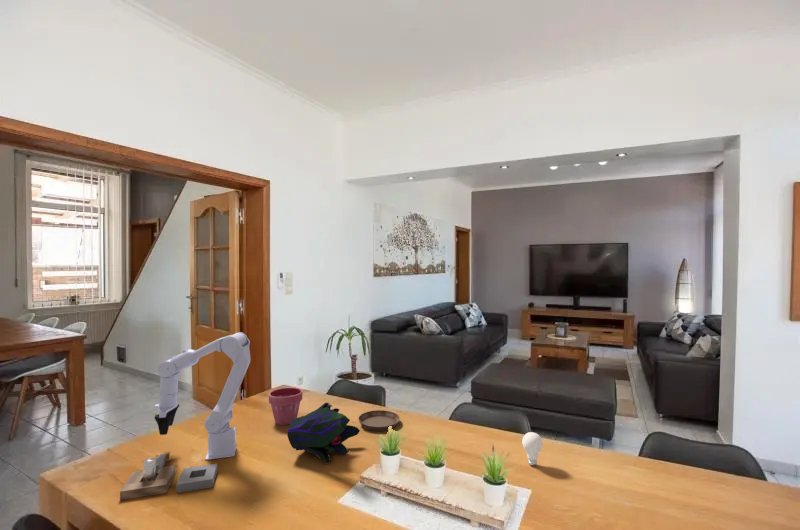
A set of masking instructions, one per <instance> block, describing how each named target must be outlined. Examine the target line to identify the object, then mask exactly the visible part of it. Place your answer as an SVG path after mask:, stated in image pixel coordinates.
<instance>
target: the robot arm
mask: <svg viewBox="0 0 800 530" xmlns="http://www.w3.org/2000/svg"><path fill="white" fill-rule="evenodd" d="M250 344H251V341H250V339H249V338H248V336H247V335H246V334H245V333H244V332H242V331H240V332H235V333H234V334H229V335H226V336H223V337H220V338H217V339H216V340H213V341H211V342H209V343H208V344H205V345H204V346H202V347H200V348H198V349H196V350H195V349H187V348H186V349H184V350H182V351H181V352H182V353H179V354H177V355H172V356H170V358H169V359H167V360H163V361H162V362H161V363H160V364H159V365H158V366H157V373H158V375H159V376H160V380H159V396H158V403H156V404H155V405H154V408H155V409H158V411H159V413H158V414H155V415H154V421H155V422H156V424H157V427H158V432H159V433H158V434H159V435H161V436H163V435H165V436H166V435H167V434H168V432H169V428H170V427H172V426H173V423H174V420H175V416H176V414H177V412H178V411H177V410H178V409H179V407H180V404H179V403H178V390H179V376H180V373H181V372H182V371H185V370H186V369H188V368H190V367H192V366H194V365H196V364H198V363H199V360H200V359H201V358H202V357H204V356H207V355H210V354H211V353H214V352H216V351H217V352H220V353H222V352H223V353H224V354H225V355H226V356H227V357H228V358H229V359H230V360H231V361H232V362H233V364H232V367H231V369H230V373H229V375H228V376H227V379H226V382H225V383H224V387H223V389H222V391H221V394H220V395H219V396H220V397H219V398H218V401H217V403H216V405H215V406H214V407H213V409H212V410H211V413H210V414H209V416H207V417H206V419H205V420H204V424H203V425H204V428H205V430H206V431H207V453H206V456H205V458H204V459H205V460H206V461H208V460H215V459H217V460H218V459H223V458H228V457H229V458H231V457H235V454H236V450H237V446H238V445H237V427H235V426H234V427H233V426H230V422H231V421H232V419H233V410H234V407H235V406H234V402H235V399H236V397H237V395H238V393H239V389H240V387H241V385H242V383H243V380H244V378H245V375H246V373H247V370H248V368H249V365H250V364H251V362H252V361H251V359H252V358H251V352H250V351H251V350H250Z"/></svg>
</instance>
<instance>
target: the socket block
mask: <svg viewBox="0 0 800 530" xmlns="http://www.w3.org/2000/svg"><path fill="white" fill-rule="evenodd" d="M176 470H177V469H176V465H169V466H164V467H161V468H160V469H159V471H158V472H157V474H156V480H153V481H146V482H143V469H141V470H134V471H132V473H131V475H130V476H129V478H128V479H127V480H126V482H125V484H124V485H123V486H122V488H121V490H119V500H120V501H123V500H127V499H128V500H129V499H136V498H141V497H142V498H143V497H149V496H156V495H160V494H166V493H167V492H168V490H169V488H170V486H171V483H172V482H173V479H174V477H175V475H176V473H177V472H176Z"/></svg>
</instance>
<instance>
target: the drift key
mask: <svg viewBox="0 0 800 530" xmlns="http://www.w3.org/2000/svg"><path fill="white" fill-rule="evenodd" d="M171 455H172V454H171V451H164V452H156V453H155V457H154V458H155V475H157V472H158V471H159V469H160V468H161V467H165V465H166V463H167V462H169V461H170V460H171V457H172V456H171Z"/></svg>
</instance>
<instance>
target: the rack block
mask: <svg viewBox="0 0 800 530" xmlns="http://www.w3.org/2000/svg"><path fill="white" fill-rule="evenodd" d="M217 473H218V463H212V464H205V465H198V466H192V467H183V469H182V471H181V473H180V476H179V479H178V480H177V482H176V493H184V492H189V491H190V492H191V491H196V490H197V491H198V490H203V489H209V488H213V487H214V484H215V480H216V477H217Z"/></svg>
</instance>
